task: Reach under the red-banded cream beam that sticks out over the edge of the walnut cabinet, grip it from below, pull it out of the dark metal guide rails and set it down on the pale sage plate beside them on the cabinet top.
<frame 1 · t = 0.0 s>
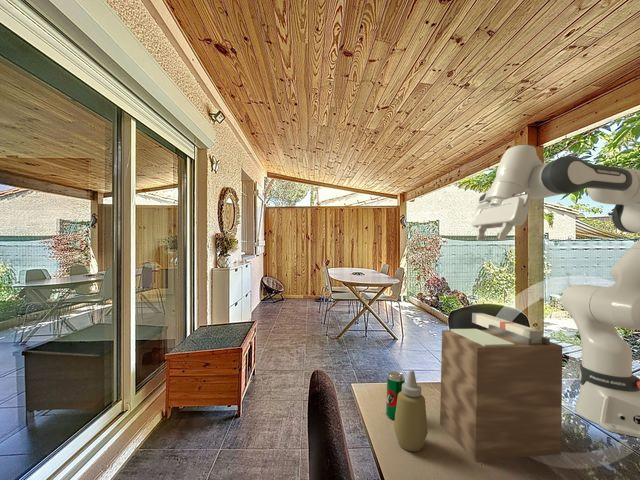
hand: (489, 240, 91), 52 cm above the table, tool tilted 20°, fingers open, 8 cm apart
squeeze bottle: (410, 445, 76), on the table
plate: (480, 337, 80), resting on cabinet
red-banded cream beam: (502, 331, 87), point 26 cm above the table, touching cabinet
cabinet: (496, 437, 80), on the table
soda can: (394, 416, 89), on the table
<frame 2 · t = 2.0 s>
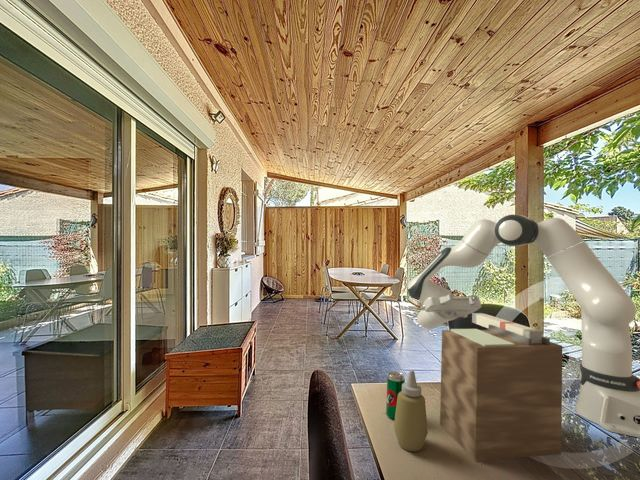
hand: (463, 296, 105), 33 cm above the table, tool pointing upward, fingers open, 8 cm apart
nothing on the table moved.
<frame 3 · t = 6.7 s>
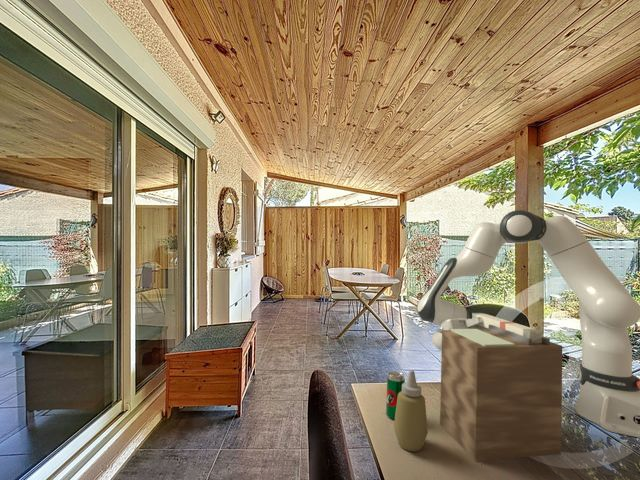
hand: (487, 319, 93), 28 cm above the table, tool pointing upward, fingers closed on red-banded cream beam, 3 cm apart
red-banded cream beam: (502, 331, 87), point 26 cm above the table, touching cabinet, gripper
everything else where it was.
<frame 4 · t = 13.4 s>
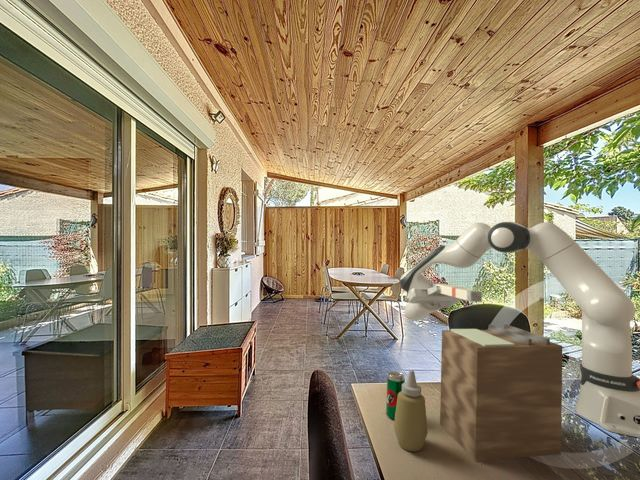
hand: (444, 287, 110), 35 cm above the table, tool pointing upward, fingers closed on red-banded cream beam, 3 cm apart
red-banded cream beam: (454, 296, 104), point 33 cm above the table, touching gripper
everything else where it was.
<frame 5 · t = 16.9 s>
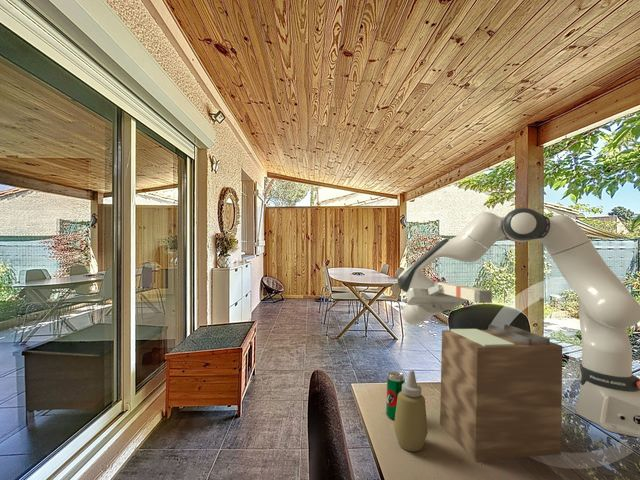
hand: (447, 286, 96), 37 cm above the table, tool pointing upward, fingers closed on red-banded cream beam, 3 cm apart
red-banded cream beam: (459, 296, 90), point 35 cm above the table, touching gripper
everything else where it was.
when the fingers open (30 cm above the table, at t = 20.0 s): red-banded cream beam drops 1 cm, resting on plate.
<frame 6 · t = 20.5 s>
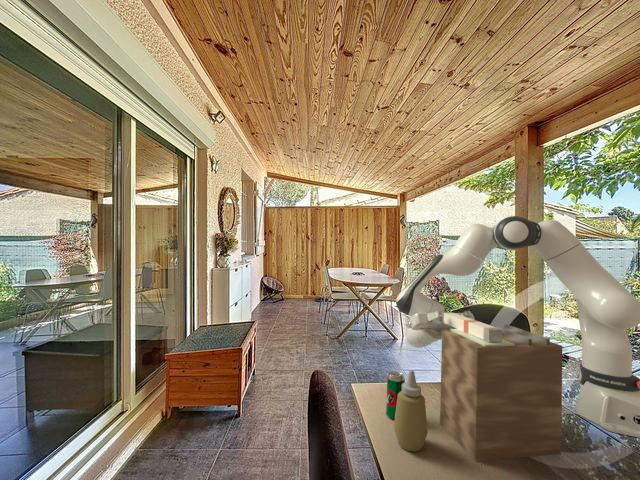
hand: (454, 313, 92), 30 cm above the table, tool pointing upward, fingers open, 8 cm apart
red-banded cream beam: (467, 330, 85), point 26 cm above the table, touching plate
everything else where it was.
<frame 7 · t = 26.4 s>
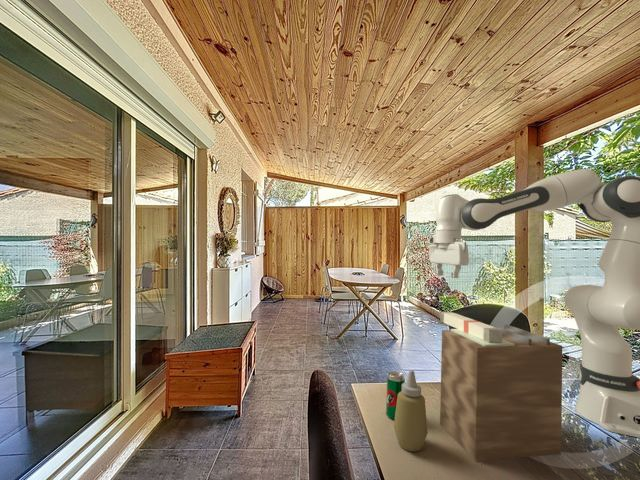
hand: (447, 276, 112), 39 cm above the table, tool pointing down, fingers open, 8 cm apart
nothing on the table moved.
at the end: red-banded cream beam inside the target area on the plate (0.3 cm from its centre), point 0.4 cm above the plate's base; the gripper is holding nothing; red-banded cream beam tilted 0° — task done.
